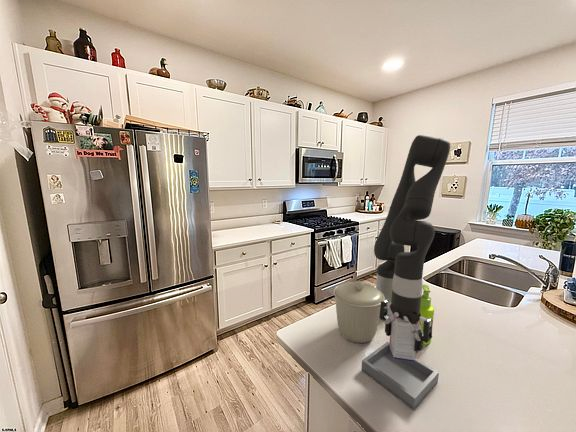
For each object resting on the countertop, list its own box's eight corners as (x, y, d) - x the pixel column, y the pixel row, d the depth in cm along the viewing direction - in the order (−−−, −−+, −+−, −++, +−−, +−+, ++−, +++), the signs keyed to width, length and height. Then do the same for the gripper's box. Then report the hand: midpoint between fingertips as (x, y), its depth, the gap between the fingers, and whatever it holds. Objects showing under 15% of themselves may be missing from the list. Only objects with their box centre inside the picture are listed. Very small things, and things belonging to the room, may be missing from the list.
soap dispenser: (428, 334, 91) (433, 284, 87) (432, 346, 84) (438, 293, 81) (410, 331, 93) (415, 282, 89) (413, 342, 86) (418, 290, 83)
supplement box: (415, 362, 67) (419, 324, 65) (392, 359, 68) (395, 322, 66) (409, 347, 73) (412, 313, 71) (388, 345, 74) (391, 311, 72)
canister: (389, 332, 92) (393, 281, 88) (368, 359, 79) (372, 299, 75) (346, 314, 104) (349, 268, 100) (322, 334, 91) (324, 282, 87)
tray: (361, 370, 74) (362, 360, 73) (386, 350, 82) (387, 341, 82) (413, 410, 61) (415, 398, 61) (437, 382, 70) (438, 372, 69)
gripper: (440, 296, 64) (434, 350, 66) (390, 278, 75) (386, 325, 78) (427, 305, 59) (421, 363, 62) (376, 284, 71) (373, 334, 73)
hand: (402, 342), depth 70 cm, fingers closed on supplement box, 8 cm apart
